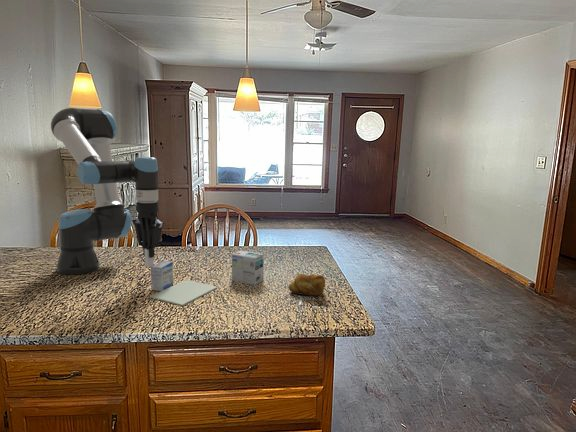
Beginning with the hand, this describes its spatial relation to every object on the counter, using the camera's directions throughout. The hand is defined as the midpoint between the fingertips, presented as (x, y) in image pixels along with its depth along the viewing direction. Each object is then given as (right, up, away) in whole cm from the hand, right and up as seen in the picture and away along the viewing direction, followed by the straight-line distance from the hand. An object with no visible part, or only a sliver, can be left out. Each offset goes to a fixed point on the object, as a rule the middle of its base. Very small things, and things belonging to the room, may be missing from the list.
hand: (149, 265), depth 150 cm
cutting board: (+14, -9, -6) cm, 18 cm away
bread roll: (+57, -10, -1) cm, 58 cm away
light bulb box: (+35, -7, +9) cm, 37 cm away
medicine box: (+5, -8, -1) cm, 9 cm away
